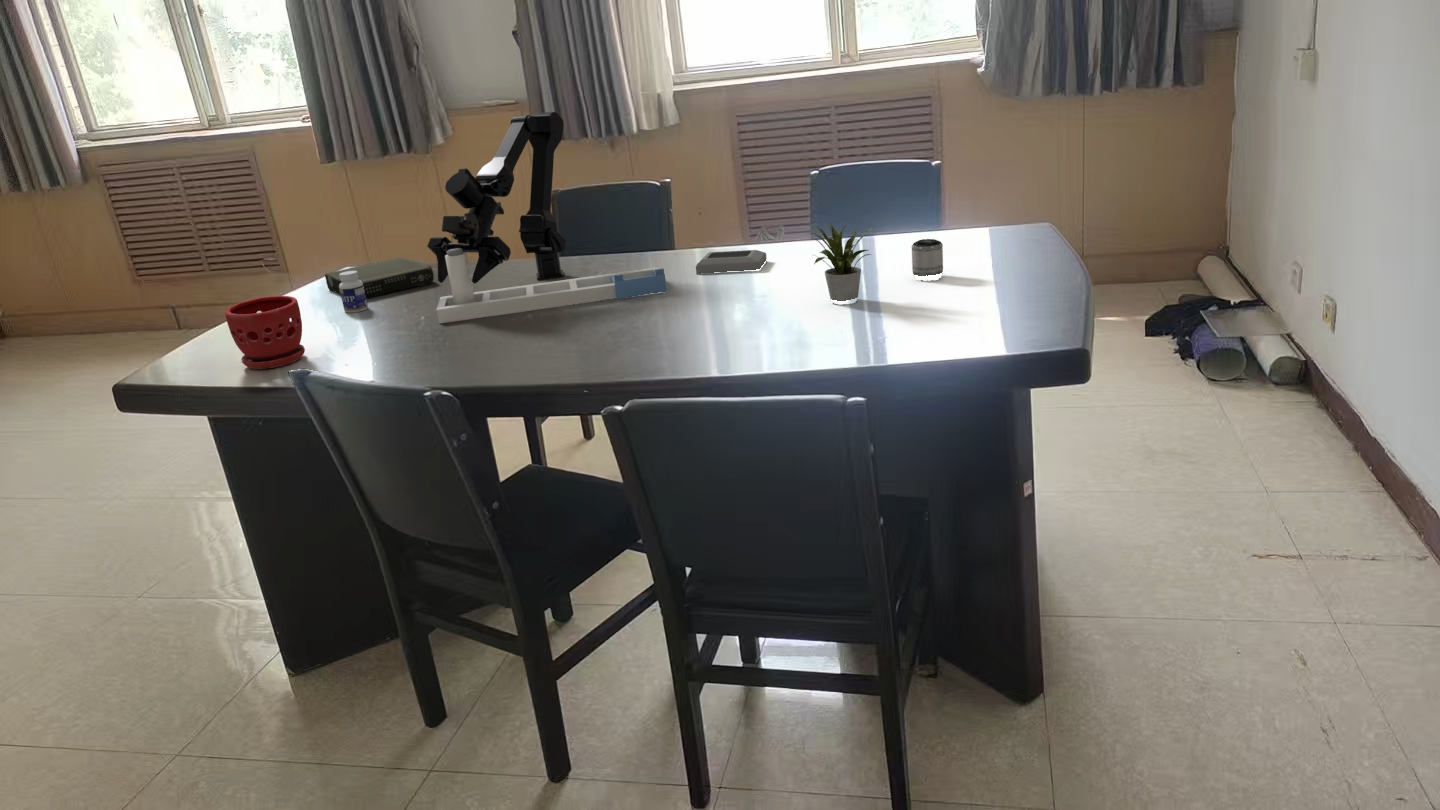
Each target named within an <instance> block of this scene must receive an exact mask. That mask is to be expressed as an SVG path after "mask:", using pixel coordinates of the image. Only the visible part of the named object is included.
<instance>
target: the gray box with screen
mask: <svg viewBox="0 0 1440 810" xmlns="http://www.w3.org/2000/svg"><path fill="white" fill-rule="evenodd" d="M766 259H767V253H766V251H761V250H757V249H746V250H743V249H742V250H728V251H727V250H726V251H725V250H723V251H709V252H708V253H706V254H705V255H704V256H703V257H702V258H701V259H700V260H699V262H697V264H696V265H695V273H696V275H702V274H701V273H714V272H727V271H744V270H756V269H760V268H761V266H762V265H763V264H764V262H765V261H766ZM767 260H768V259H767Z"/></svg>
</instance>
